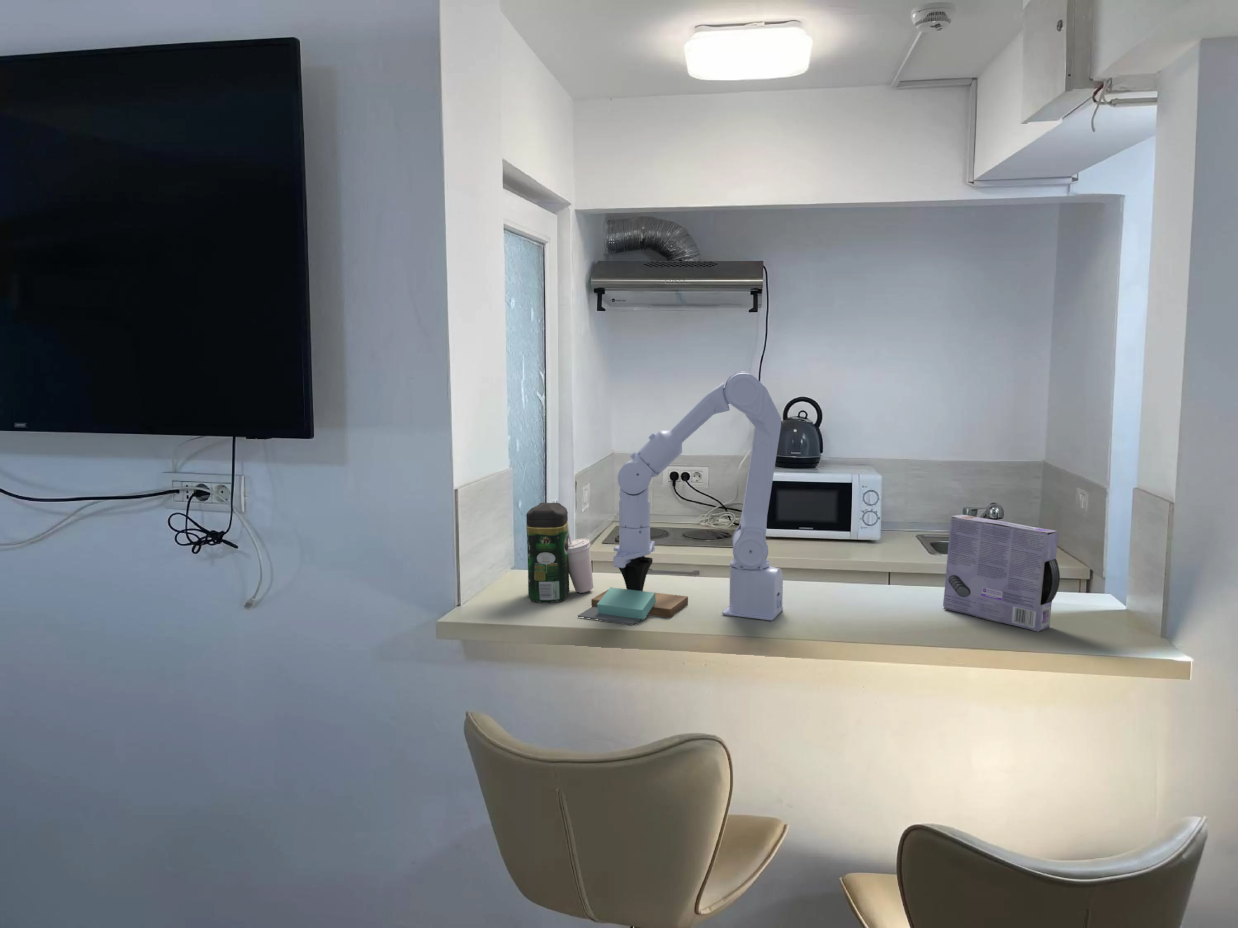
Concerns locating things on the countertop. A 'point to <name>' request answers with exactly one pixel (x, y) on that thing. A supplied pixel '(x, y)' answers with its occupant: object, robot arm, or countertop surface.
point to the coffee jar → (547, 553)
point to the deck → (659, 604)
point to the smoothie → (580, 564)
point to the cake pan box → (1001, 571)
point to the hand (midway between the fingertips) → (634, 596)
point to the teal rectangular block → (626, 603)
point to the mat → (607, 617)
